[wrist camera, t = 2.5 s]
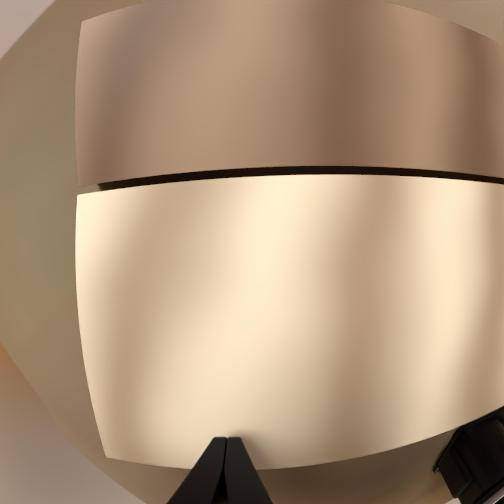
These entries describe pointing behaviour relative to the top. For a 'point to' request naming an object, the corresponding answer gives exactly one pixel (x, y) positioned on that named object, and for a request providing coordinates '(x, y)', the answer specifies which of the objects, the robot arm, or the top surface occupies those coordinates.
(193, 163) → the walnut board
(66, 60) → the top surface
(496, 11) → the top surface
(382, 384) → the oak plank
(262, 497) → the robot arm
